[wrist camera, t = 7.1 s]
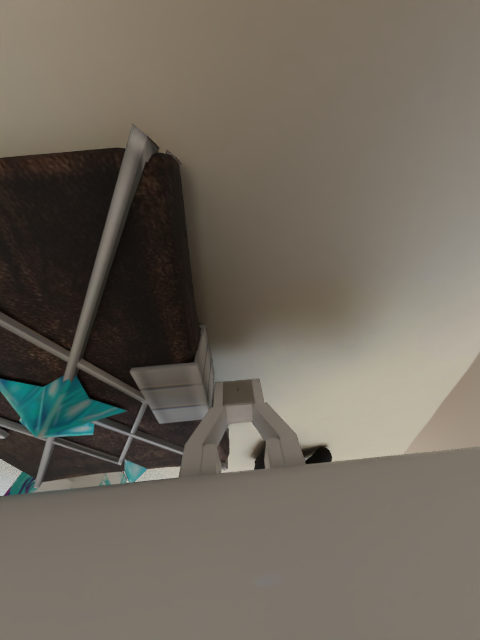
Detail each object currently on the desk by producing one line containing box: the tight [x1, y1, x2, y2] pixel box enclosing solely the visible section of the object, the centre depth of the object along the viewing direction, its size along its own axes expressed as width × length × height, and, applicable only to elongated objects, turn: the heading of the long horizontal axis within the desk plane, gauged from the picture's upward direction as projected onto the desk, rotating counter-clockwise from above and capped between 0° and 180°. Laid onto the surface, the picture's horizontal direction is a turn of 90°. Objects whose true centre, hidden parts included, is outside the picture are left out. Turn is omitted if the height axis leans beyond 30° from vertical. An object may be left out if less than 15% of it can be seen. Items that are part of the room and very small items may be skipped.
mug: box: [4, 472, 127, 496], centre depth 18 cm, size 8×12×8 cm
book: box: [0, 124, 229, 488], centre depth 10 cm, size 22×17×5 cm
